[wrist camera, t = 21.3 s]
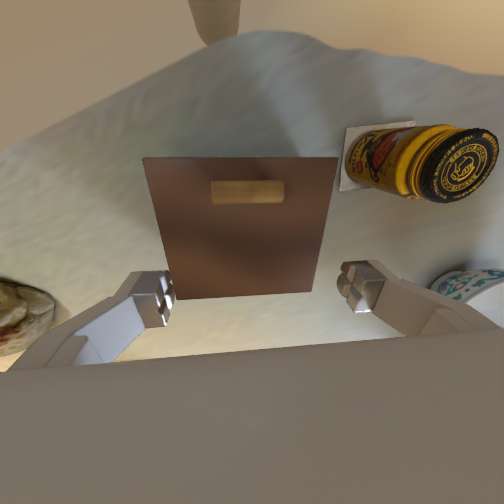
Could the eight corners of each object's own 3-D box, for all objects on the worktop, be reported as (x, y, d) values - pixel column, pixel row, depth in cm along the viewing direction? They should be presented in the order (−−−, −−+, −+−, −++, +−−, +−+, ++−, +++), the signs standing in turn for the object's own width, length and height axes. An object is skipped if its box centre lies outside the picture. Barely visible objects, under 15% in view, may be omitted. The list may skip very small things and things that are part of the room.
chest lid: (145, 157, 16) (118, 163, 12) (334, 156, 17) (364, 162, 13) (178, 295, 23) (168, 327, 19) (309, 287, 24) (323, 315, 21)
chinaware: (486, 292, 40) (538, 323, 33) (412, 323, 43) (446, 357, 36) (491, 235, 33) (558, 259, 26) (402, 276, 36) (442, 308, 29)
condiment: (345, 128, 23) (439, 118, 13) (415, 120, 24) (561, 104, 13) (338, 191, 27) (406, 224, 16) (398, 183, 27) (503, 210, 17)
